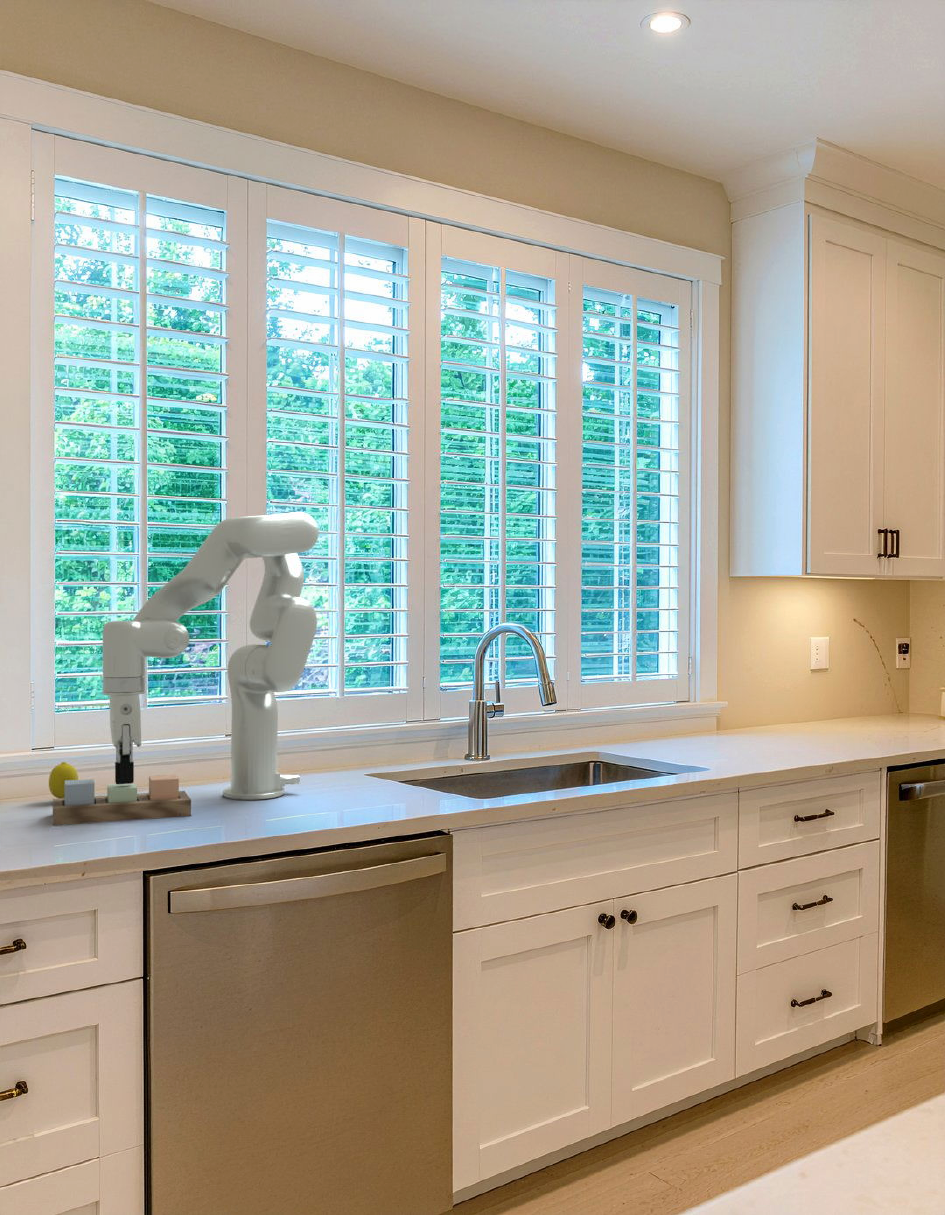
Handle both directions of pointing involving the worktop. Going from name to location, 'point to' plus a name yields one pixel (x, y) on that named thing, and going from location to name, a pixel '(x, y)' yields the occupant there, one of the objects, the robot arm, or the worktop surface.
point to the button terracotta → (163, 787)
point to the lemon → (61, 779)
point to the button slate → (79, 792)
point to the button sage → (121, 793)
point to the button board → (120, 809)
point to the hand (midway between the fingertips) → (124, 783)
